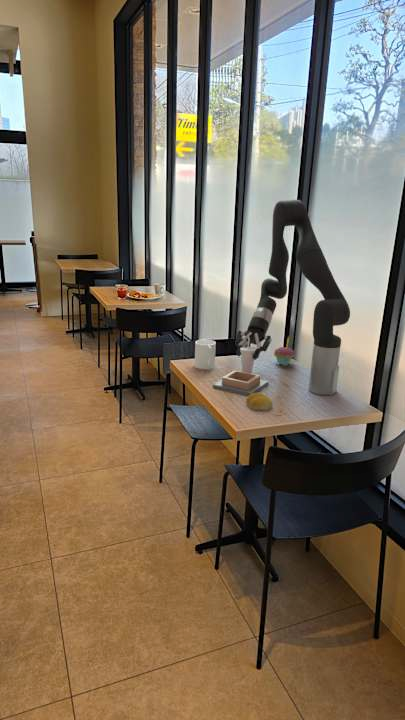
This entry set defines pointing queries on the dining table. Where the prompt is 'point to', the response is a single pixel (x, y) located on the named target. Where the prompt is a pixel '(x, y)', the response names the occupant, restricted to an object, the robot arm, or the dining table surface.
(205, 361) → the cup
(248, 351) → the smoothie
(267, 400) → the bread roll
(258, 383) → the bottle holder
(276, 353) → the cupcake
